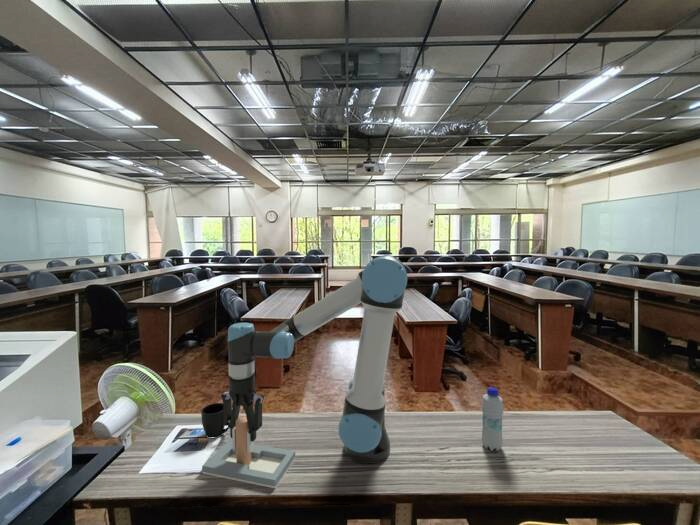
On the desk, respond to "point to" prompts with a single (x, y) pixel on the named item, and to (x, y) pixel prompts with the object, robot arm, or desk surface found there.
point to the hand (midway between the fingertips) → (243, 448)
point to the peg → (242, 441)
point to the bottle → (492, 419)
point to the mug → (213, 420)
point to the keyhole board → (251, 465)
